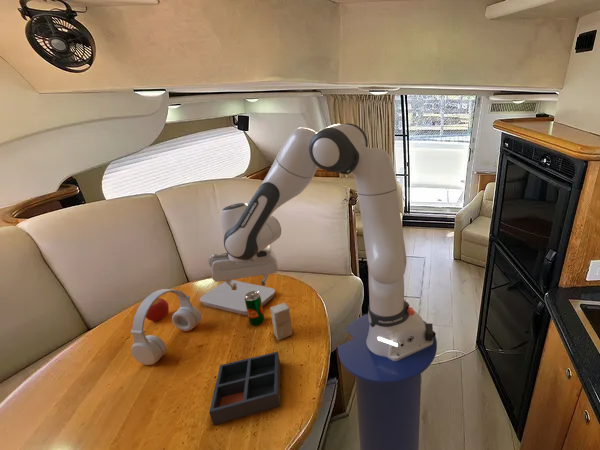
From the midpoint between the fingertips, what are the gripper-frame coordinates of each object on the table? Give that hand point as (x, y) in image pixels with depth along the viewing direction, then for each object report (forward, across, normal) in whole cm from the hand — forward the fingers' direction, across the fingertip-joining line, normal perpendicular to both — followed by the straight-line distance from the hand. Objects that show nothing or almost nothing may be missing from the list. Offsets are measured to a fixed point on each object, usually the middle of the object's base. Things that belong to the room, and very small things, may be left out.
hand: (249, 286), depth 108 cm
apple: (+16, -35, +15) cm, 41 cm away
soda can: (+15, 0, 0) cm, 15 cm away
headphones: (+15, -26, -2) cm, 30 cm away
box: (+15, +9, -10) cm, 20 cm away
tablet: (+15, -8, +18) cm, 25 cm away
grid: (+15, 0, -31) cm, 35 cm away
